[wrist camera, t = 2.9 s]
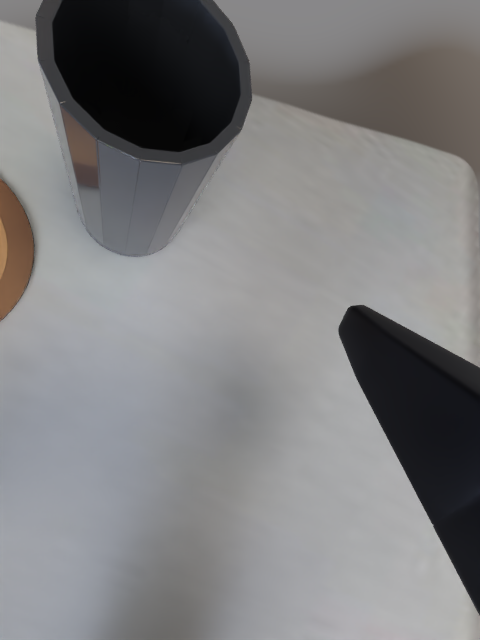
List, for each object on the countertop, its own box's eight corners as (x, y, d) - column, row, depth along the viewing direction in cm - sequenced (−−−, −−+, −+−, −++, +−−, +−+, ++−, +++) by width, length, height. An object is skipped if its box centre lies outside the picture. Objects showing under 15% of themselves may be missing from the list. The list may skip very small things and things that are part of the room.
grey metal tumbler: (136, 277, 21) (164, 206, 10) (53, 203, 20) (-22, 25, 9) (199, 211, 23) (286, 86, 12) (127, 139, 21) (145, -82, 10)
